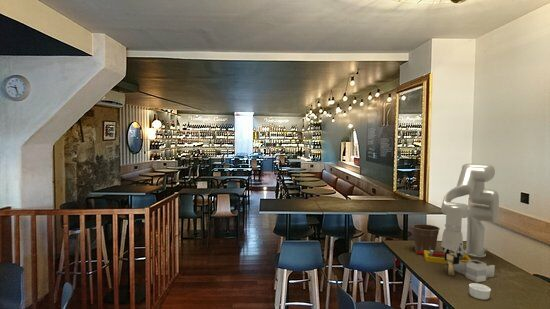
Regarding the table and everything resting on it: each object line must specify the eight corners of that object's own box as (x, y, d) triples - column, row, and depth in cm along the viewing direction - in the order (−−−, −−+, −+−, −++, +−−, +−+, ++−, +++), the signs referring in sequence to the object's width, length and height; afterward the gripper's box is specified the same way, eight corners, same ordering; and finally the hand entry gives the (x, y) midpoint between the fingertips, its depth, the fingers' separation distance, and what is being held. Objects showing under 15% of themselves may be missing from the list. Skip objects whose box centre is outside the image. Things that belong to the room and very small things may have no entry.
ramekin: (482, 292, 170) (483, 283, 170) (494, 300, 161) (495, 291, 161) (464, 291, 170) (464, 282, 170) (475, 300, 161) (476, 291, 161)
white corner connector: (471, 267, 203) (472, 251, 202) (499, 278, 187) (500, 261, 187) (449, 270, 197) (450, 254, 196) (476, 282, 181) (477, 264, 181)
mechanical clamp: (416, 244, 225) (469, 249, 217) (416, 254, 225) (468, 260, 217) (419, 253, 208) (477, 259, 199) (418, 264, 208) (476, 270, 199)
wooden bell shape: (450, 272, 195) (451, 252, 194) (458, 275, 190) (459, 255, 189) (443, 273, 193) (444, 253, 192) (451, 276, 188) (452, 256, 187)
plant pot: (405, 248, 235) (406, 224, 234) (426, 246, 240) (427, 223, 239) (423, 256, 220) (424, 230, 219) (444, 254, 224) (445, 229, 224)
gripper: (435, 225, 197) (433, 257, 197) (461, 233, 181) (460, 268, 182) (445, 224, 199) (444, 256, 200) (472, 232, 183) (470, 266, 184)
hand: (451, 261), depth 191 cm, fingers closed on wooden bell shape, 5 cm apart
